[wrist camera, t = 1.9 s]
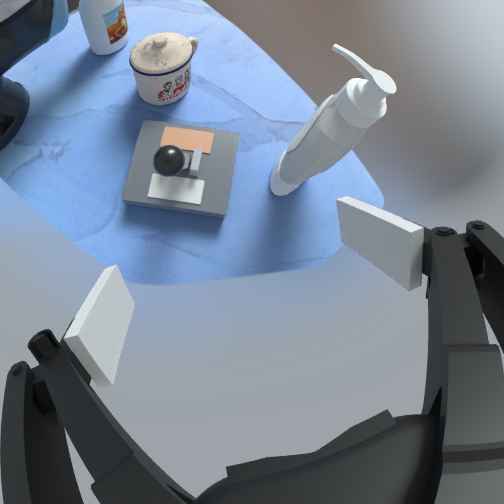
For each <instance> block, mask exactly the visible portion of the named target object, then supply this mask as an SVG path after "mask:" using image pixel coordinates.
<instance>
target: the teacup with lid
mask: <svg viewBox="0 0 504 504" xmlns="http://www.w3.org/2000/svg"><path fill="white" fill-rule="evenodd" d="M197 47H198V40H197V39H195V38H193V37H189V38H186V37H184V36H182V35H180V34H177V33H171V32H163V33H157V34H153V35H150V36H148V37H146V38H144V39H142V40H141V41H140V42H138V43H137V44H136V45H135V47H134V48H133V50H132V51H131V54H130V58H129V61H130V65H131V67H132V68H133V72H134V76H135V80H136V84H137V88H138V92H139V95H140V97H141V98H142V99H143V100H144V101H146V102H147V103H149V104H153V105H167V104H171V103H173V102H176V101H177V100H179V99H181V98H182V97H183V96H184V95H185V94H186V92H187V91H188V89H189V86H190V69H191V58H192V56H193V55H194V54H195V52H196V50H197Z"/></svg>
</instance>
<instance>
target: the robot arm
mask: <svg viewBox="0 0 504 504" xmlns="http://www.w3.org/2000/svg"><path fill="white" fill-rule="evenodd" d="M67 23H68V7H67V0H0V150H1V149H2V148H4V147H5V146H6V145H7V144H8V143H9V142H10V141H11V139H12V138H13V137H14V136H15V134H16V133H17V131H18V130H19V128H20V127H21V125H22V123H23V121H24V119H25V117H26V114H27V111H28V108H29V102H30V98H29V94H28V92H27V90H26V89H25V88H24V87H23V85H21V84H20V83H18V82H13V81H11V80H10V79H8V78H5V77H3V76H2V75H3V74H4V73H5V72H6V71H8V70H9V69H10V68H11V67H13V66H14V65H15V64H16V63H18V62H19V61H20V60H22V59H23V58H24V57H26V56H27V55H28V54H30V53H31V52H32V51H34V50H35V49H37V48H38V47H40V46H41V45H43V44H44V43H47V42H48V41H49V40H50V39H51V38H52V37H54V36H55V35H57V34H58V33H60V32H61V31H62V30H63V29H64V28H65V27H66V25H67ZM336 203H337V210H338V217H339V225H340V233H341V241H342V242H343V243H344V244H345V245H347V246H348V247H350V248H351V249H353V250H354V251H355V252H357V253H358V254H360V255H361V256H362V257H364V258H365V259H366V260H368V261H369V262H371V263H372V264H373V265H375V266H376V267H378V268H379V269H380V270H382V271H383V272H384V273H386V274H387V275H388V276H390V277H391V278H393V279H394V280H395V281H396V282H398V283H399V284H400V285H402V286H403V287H404V288H406V289H407V290H408V291H411V290H413V289H415V288H417V287H419V286H421V283H422V273H423V274H425V275H426V276H428V281H427V291H426V299H428V315H429V316H428V320H429V324H428V325H429V326H428V327H429V328H428V329H429V332H428V333H429V334H428V336H429V337H428V361H427V362H428V363H427V376H426V386H425V387H426V388H425V396H424V404H423V409H422V413H421V414H420V415H419V414H414V415H404V416H398V417H394V418H393V417H392V415H391V414H390V413H389V411H388V410H385V411H383V412H381V413H379V414H377V415H376V416H373V417H371V418H369V419H367V420H365V421H363V422H361V423H359V424H357V425H355V426H353V427H351V428H349V429H348V430H347V431H345V432H344V433H342V434H341V435H340V436H338V437H337V438H335V439H334V440H333V441H331V442H329V443H328V444H327V445H325V446H323V447H322V448H320V449H319V450H317V451H315V452H312V453H307V454H299V455H289V456H278V457H266V458H262V459H258V460H255V461H250V462H246V463H242V464H237V465H233V466H228V467H226V470H227V475H228V477H226V478H224V479H222V480H220V481H218V482H217V483H215V484H213V485H212V486H210V487H209V488H207V489H206V490H205V491H204V492H203V493H202V494H200V495H199V497H197V499H196V498H195V497H193V496H192V495H191V494H189V493H188V492H186V491H185V490H184V489H183V488H182V487H181V486H179V485H178V484H177V483H176V482H175V481H174V480H172V478H170V477H169V476H168V475H167V474H166V473H165V472H164V471H163V470H162V469H161V468H160V467H159V466H158V465H157V464H156V463H155V462H154V461H153V460H152V459H151V458H150V457H149V456H148V455H147V454H146V453H145V452H144V451H143V450H142V449H141V448H140V447H139V446H138V444H136V442H135V441H134V440H133V439H132V438H131V437H130V436H129V434H128V433H127V432H126V431H125V430H124V429H123V427H122V426H121V425H120V424H119V423H118V421H117V420H116V419H115V418H114V416H113V415H112V414H111V413H110V411H109V410H108V409H107V407H106V406H105V405H104V404H103V402H102V401H101V399H100V398H99V397H98V396H97V394H96V393H95V391H94V390H93V389H92V387H91V386H90V385H89V384H90V381H91V378H92V379H93V381H94V382H95V383H96V385H97V386H98V387H106V386H112V385H113V383H114V379H115V375H116V371H117V367H118V363H119V358H120V355H121V351H122V348H123V344H124V341H125V337H126V333H127V330H128V327H129V324H130V320H131V317H132V314H133V311H134V307H135V303H134V301H133V299H132V297H131V295H130V293H129V291H128V289H127V287H126V284H125V282H124V280H123V278H122V276H121V273H120V271H119V269H118V267H117V265H114V266H111V267H108V268H105V270H104V272H103V273H102V274H101V276H100V278H99V279H98V281H97V282H96V284H95V285H94V287H93V289H92V290H91V292H90V293H89V295H88V297H87V298H86V300H85V302H84V303H83V305H82V307H81V309H80V310H79V312H78V313H77V315H76V317H75V318H74V319H73V320H72V321H71V323H70V325H69V327H68V328H67V330H66V333H65V334H64V336H63V337H62V339H61V341H60V343H59V342H58V341H57V339H56V338H55V336H54V335H53V333H52V331H51V330H49V329H45V330H42V331H40V332H38V333H37V334H36V335H34V336H33V337H32V338H31V340H30V341H29V343H28V348H29V350H30V351H31V353H32V354H33V355H34V357H35V358H36V360H37V361H38V362H39V366H36V367H35V368H32V369H31V368H30V367H29V365H28V364H27V363H26V362H25V361H21V362H18V363H17V364H14V365H13V366H12V367H11V369H10V371H9V372H8V375H7V380H6V387H5V393H4V402H3V410H2V422H1V442H0V463H1V482H2V493H3V501H4V504H84V503H83V500H82V497H81V494H80V491H79V488H78V484H77V481H76V478H75V474H74V471H73V467H72V463H71V458H70V454H69V449H68V445H67V440H66V434H65V429H66V431H67V433H68V435H69V437H70V439H71V441H72V443H73V445H74V447H75V448H76V450H77V452H78V454H79V455H80V457H81V459H82V461H83V462H84V464H85V466H86V468H87V469H88V471H89V472H90V474H91V475H92V477H93V479H94V481H95V482H94V483H93V484H92V485H91V489H92V491H93V493H94V495H95V496H96V498H97V499H98V501H99V502H100V504H504V372H503V365H502V359H501V353H500V349H499V346H498V345H496V344H489V341H488V336H487V331H486V326H485V321H484V316H483V313H484V315H485V317H486V319H487V320H488V322H489V324H490V326H491V328H492V330H493V332H494V334H495V336H496V338H497V340H498V342H499V344H500V347H501V349H502V351H503V353H504V238H503V237H502V236H501V235H500V234H499V233H498V232H497V231H495V230H494V229H493V228H492V227H491V226H490V225H488V224H487V223H484V222H482V221H478V220H476V221H471V222H468V223H467V225H466V233H463V234H457V232H456V231H455V230H454V229H452V228H448V227H436V228H433V229H432V230H430V229H427V228H426V227H423V226H421V225H419V224H416V223H414V222H411V221H409V220H407V219H405V218H401V217H398V216H396V215H393V214H391V213H389V212H386V211H384V210H381V209H379V208H376V207H374V206H371V205H369V204H366V203H364V202H361V201H358V200H356V199H353V198H350V197H348V196H346V197H342V198H338V199H336ZM482 311H483V312H482ZM64 427H65V429H64Z"/></svg>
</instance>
